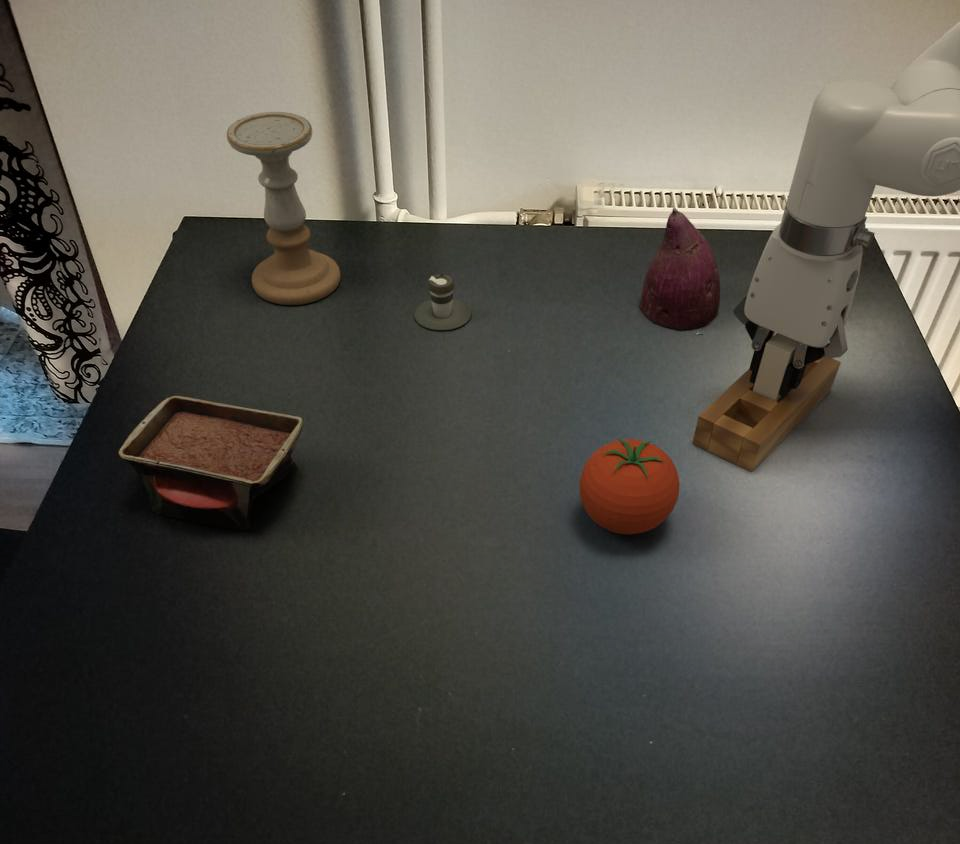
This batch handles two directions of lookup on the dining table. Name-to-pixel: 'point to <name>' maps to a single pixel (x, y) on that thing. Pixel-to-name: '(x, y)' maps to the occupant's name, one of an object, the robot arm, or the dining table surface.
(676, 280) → the vegetable
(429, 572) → the dining table surface
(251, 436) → the baking dish
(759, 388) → the peg
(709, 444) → the peg block
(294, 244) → the candle holder
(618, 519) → the tomato
